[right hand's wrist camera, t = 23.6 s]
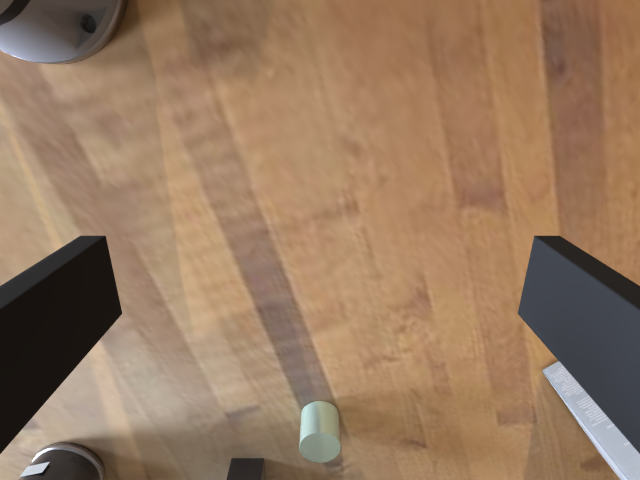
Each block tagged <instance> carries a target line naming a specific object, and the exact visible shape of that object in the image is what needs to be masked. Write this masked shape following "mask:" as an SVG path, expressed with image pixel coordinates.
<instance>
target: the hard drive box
mask: <svg viewBox="0 0 640 480" xmlns="http://www.w3.org/2000/svg"><path fill="white" fill-rule="evenodd" d="M543 373H544V374H545V376H546V377H547V379H548V380H549V381H550V383H551V384H552V386H553V387H554V389H555V390H556V391H557V393H558V394H559V396H560V397H561V398H562V400H563V401H564V403H565V404H566V406H567V407H568V409H569V410H570V412H571V413H572V414H573V416H574V417H575V419H576V420H577V422H578V423H579V425H580V426H581V427H582V429H583V430H584V432H585V433H586V435H587V436H588V437H589V439H590V440H591V442H592V443H593V445H594V446H595V447H596V449H597V450H598V451H599V453H600V454H601V455H602V457H603V458H604V459H605V460H606V462H607V463H608V464H609V465H610V467H611V468H612V469H613V471H614V472H615V473H616V474H617V476H618V477H619V478H620V480H640V454H639V453H638V451H637V450H636V449H635V448H634V447H633V446H632V444H631V443H630V442H629V441H628V440H627V439H626V438H625V436H624V435H623V434H622V433H621V432H620V431H619V430H618V428H617V427H616V426H615V425H614V424H613V423H612V421H611V420H610V419H609V418H608V417H607V416H606V415H605V413H604V412H603V411H602V410H601V409H600V408H599V406H598V405H597V404H596V403H595V402H594V401H593V400H592V398H591V397H590V396H589V395H588V394H587V393H586V392H585V390H584V389H583V388H582V387H581V386H580V385H579V383H578V382H577V381H576V380H575V379H574V378H573V377H572V375H571V374H570V373H569V372H568V371H567V370H566V368H565V367H564V366H563V365H562V364H561V363H560V362H559V361H558V362H556V363H554V364H552V365H551V366H549V367H547V368H545V369H544V370H543Z"/></svg>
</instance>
